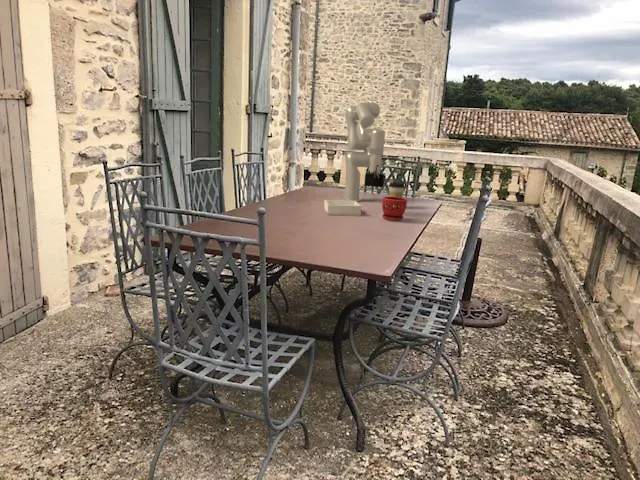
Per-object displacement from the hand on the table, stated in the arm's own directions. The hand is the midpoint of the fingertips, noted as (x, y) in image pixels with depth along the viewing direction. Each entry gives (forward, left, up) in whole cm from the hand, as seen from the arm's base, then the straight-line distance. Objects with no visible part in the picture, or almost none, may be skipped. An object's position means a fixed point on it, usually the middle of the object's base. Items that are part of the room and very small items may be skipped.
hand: (374, 183), depth 277 cm
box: (+1, -18, -17) cm, 25 cm away
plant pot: (+17, +8, -17) cm, 26 cm away
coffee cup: (-20, +19, -17) cm, 32 cm away
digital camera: (0, 0, -2) cm, 2 cm away
